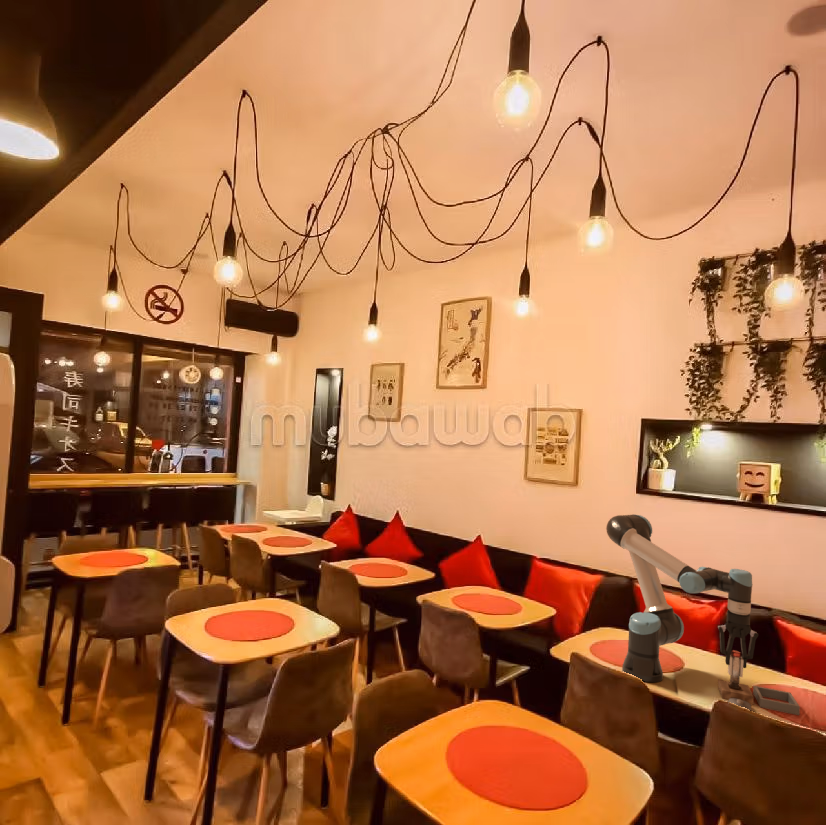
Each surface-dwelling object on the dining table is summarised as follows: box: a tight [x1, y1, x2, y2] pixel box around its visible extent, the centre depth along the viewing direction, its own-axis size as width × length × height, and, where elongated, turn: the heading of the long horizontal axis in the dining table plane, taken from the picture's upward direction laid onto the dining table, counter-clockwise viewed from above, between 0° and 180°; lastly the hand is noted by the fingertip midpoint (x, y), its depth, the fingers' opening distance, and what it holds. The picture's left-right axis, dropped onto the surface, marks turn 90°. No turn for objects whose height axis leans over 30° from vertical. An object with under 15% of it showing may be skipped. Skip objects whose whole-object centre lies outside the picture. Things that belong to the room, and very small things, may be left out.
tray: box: [752, 685, 801, 716], centre depth 205 cm, size 12×12×4 cm
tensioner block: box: [717, 679, 755, 711], centre depth 206 cm, size 10×18×4 cm, turn 159°
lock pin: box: [729, 649, 742, 689], centre depth 211 cm, size 3×3×13 cm
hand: (735, 674), depth 210 cm, fingers closed on lock pin, 3 cm apart
